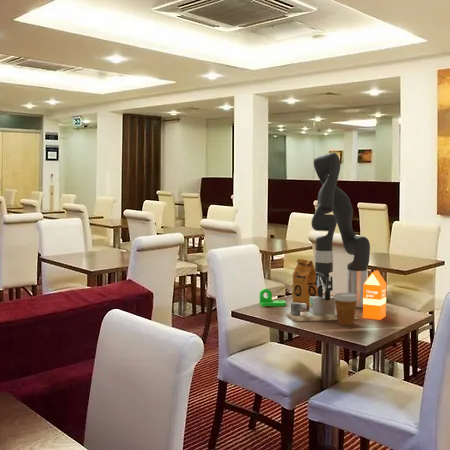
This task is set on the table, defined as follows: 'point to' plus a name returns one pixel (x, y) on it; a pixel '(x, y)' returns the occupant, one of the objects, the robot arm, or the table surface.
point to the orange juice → (374, 297)
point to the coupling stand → (308, 314)
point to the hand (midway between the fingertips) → (323, 298)
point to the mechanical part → (269, 299)
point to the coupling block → (321, 305)
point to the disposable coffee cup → (345, 308)
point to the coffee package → (304, 282)
